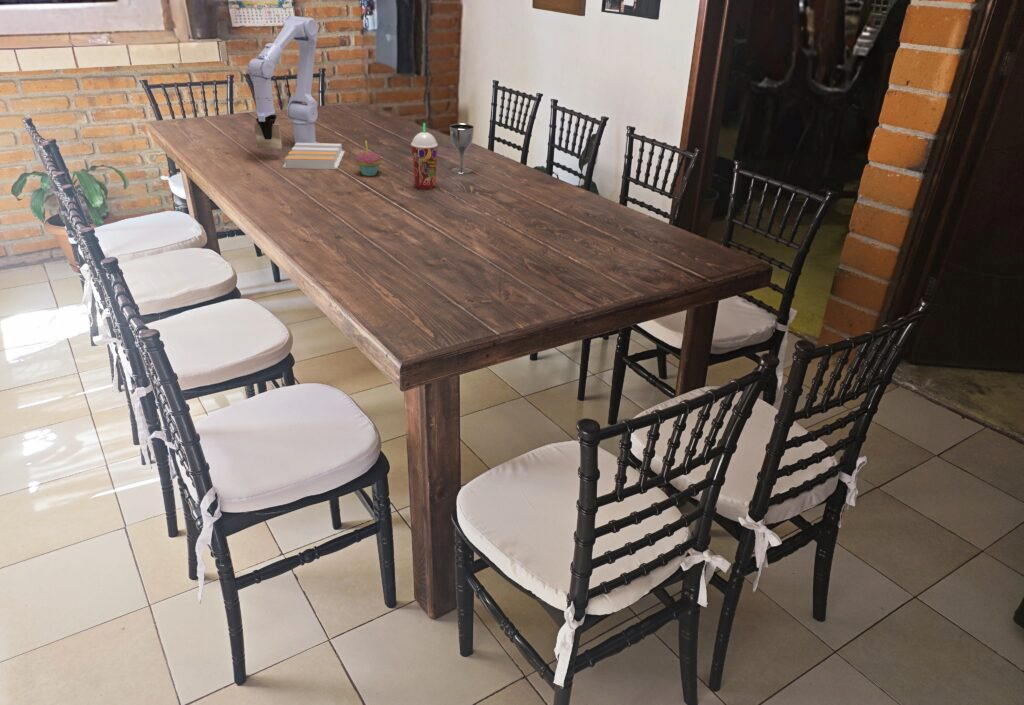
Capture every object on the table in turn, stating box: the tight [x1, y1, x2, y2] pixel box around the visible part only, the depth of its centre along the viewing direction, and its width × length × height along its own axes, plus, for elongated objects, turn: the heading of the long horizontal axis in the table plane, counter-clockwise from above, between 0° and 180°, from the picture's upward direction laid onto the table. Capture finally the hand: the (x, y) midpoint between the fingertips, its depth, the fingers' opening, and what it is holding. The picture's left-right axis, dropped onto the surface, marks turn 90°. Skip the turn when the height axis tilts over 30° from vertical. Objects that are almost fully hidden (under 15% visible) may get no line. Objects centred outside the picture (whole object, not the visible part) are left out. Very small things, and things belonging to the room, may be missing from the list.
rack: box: [282, 142, 346, 170], centre depth 262 cm, size 22×18×3 cm
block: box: [253, 122, 283, 150], centre depth 257 cm, size 2×8×8 cm, turn 94°
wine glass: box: [449, 123, 475, 174], centre depth 256 cm, size 8×8×15 cm
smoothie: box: [410, 122, 439, 190], centre depth 237 cm, size 8×8×20 cm
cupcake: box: [355, 140, 382, 177], centre depth 248 cm, size 9×8×12 cm
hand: (268, 138), depth 258 cm, fingers closed on block, 2 cm apart
